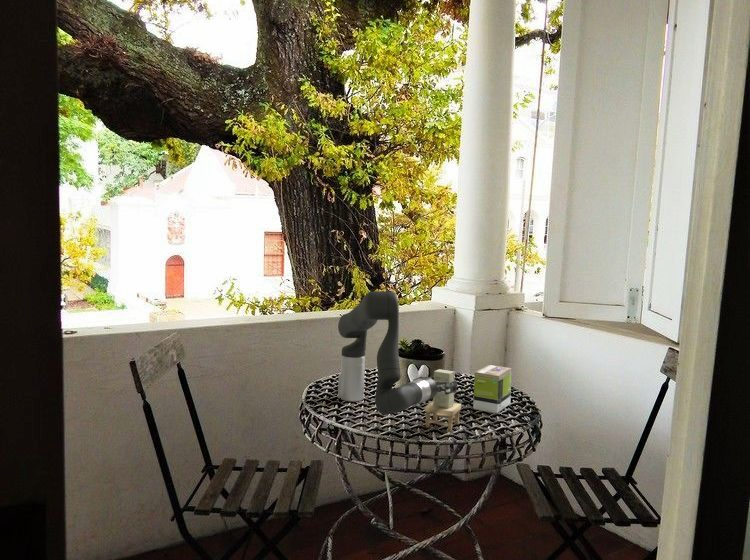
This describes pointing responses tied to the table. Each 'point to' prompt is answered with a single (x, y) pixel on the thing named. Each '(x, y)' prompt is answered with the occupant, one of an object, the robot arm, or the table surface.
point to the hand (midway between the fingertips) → (445, 381)
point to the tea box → (492, 388)
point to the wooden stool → (442, 414)
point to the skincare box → (441, 397)
